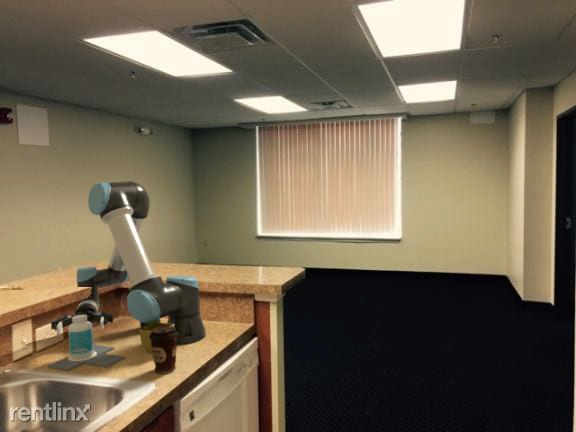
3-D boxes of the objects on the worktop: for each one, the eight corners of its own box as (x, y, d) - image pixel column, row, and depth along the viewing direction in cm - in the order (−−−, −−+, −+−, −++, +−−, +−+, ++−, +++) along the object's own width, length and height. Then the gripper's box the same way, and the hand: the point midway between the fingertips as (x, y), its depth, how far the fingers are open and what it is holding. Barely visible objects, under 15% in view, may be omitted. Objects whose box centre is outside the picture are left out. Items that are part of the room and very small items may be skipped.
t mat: (137, 351, 161) (136, 350, 161) (92, 374, 143) (92, 372, 143) (95, 346, 168) (94, 344, 168) (47, 367, 150) (47, 365, 150)
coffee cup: (162, 378, 139) (159, 335, 138) (145, 372, 144) (142, 330, 143) (185, 368, 145) (182, 327, 144) (168, 362, 150) (165, 323, 149)
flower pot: (161, 358, 154) (159, 331, 154) (139, 355, 158) (138, 329, 157) (176, 349, 163) (175, 323, 162) (155, 346, 166) (154, 322, 165)
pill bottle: (97, 355, 157) (95, 316, 156) (75, 361, 152) (72, 321, 151) (88, 349, 163) (86, 312, 162) (66, 356, 157) (63, 317, 156)
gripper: (121, 317, 182) (119, 334, 162) (51, 326, 175) (40, 344, 154) (120, 299, 182) (118, 313, 161) (49, 306, 174) (38, 322, 154)
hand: (80, 328), depth 158 cm, fingers open, 13 cm apart
